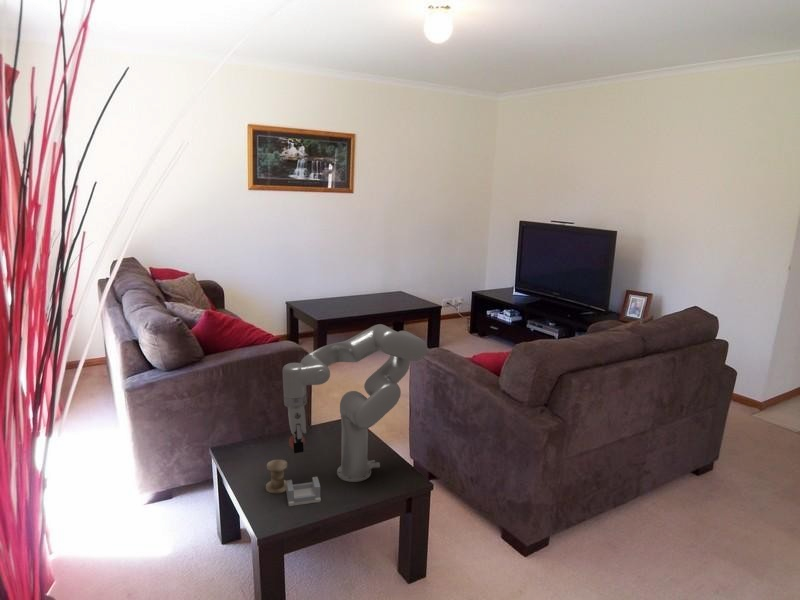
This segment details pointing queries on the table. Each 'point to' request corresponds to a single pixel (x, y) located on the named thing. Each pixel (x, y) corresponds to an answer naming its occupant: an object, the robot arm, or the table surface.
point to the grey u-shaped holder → (303, 492)
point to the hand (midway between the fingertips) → (297, 447)
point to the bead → (293, 441)
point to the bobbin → (276, 476)
